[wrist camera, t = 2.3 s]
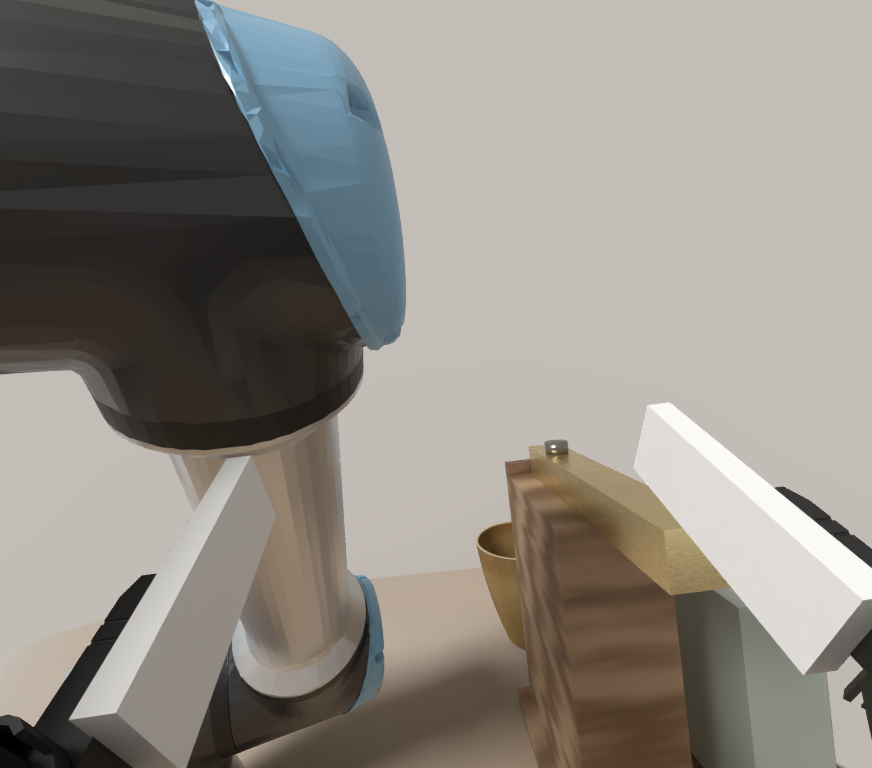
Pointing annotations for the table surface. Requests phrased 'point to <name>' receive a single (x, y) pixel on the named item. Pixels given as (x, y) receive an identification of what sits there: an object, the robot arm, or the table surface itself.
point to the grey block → (747, 690)
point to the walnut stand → (593, 643)
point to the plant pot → (502, 577)
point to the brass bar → (626, 518)
